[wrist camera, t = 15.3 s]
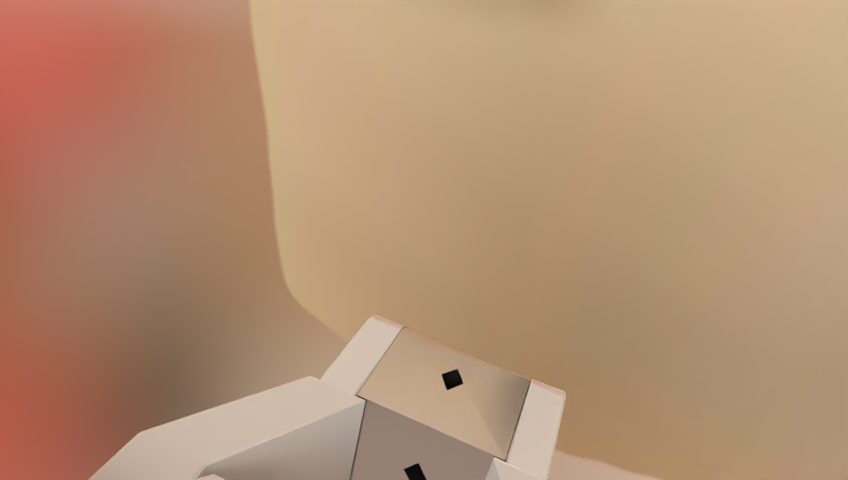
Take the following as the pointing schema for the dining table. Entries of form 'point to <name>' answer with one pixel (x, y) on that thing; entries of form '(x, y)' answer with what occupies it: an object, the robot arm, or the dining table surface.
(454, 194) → the dining table surface
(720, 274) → the dining table surface
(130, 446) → the robot arm
